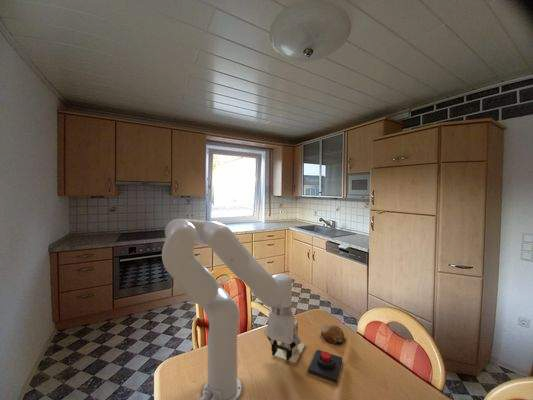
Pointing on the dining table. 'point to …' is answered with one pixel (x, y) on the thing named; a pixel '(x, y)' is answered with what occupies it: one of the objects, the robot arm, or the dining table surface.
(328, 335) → the bread roll
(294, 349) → the toaster bracket
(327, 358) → the button
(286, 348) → the toaster lever
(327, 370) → the control block
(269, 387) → the dining table surface
